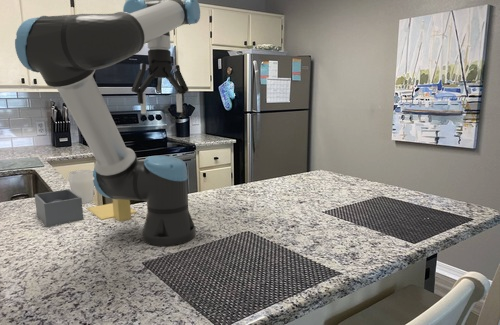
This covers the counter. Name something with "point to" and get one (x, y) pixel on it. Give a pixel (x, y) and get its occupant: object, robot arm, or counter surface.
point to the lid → (114, 210)
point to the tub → (59, 207)
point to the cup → (82, 184)
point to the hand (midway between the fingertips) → (162, 113)
